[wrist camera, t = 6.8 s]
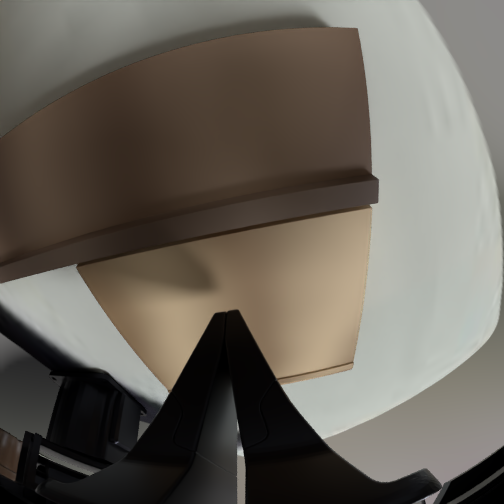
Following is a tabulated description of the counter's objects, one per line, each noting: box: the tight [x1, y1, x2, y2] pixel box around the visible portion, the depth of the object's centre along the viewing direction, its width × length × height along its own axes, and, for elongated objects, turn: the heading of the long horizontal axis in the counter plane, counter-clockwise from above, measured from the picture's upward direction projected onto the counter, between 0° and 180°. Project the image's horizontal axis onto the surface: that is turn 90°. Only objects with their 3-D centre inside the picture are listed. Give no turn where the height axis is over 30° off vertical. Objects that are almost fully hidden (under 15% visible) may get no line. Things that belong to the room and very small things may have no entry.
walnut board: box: [0, 27, 379, 283], centre depth 8 cm, size 16×6×2 cm, turn 100°
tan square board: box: [76, 205, 372, 393], centre depth 13 cm, size 11×11×2 cm
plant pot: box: [0, 429, 23, 481], centre depth 37 cm, size 16×16×16 cm
